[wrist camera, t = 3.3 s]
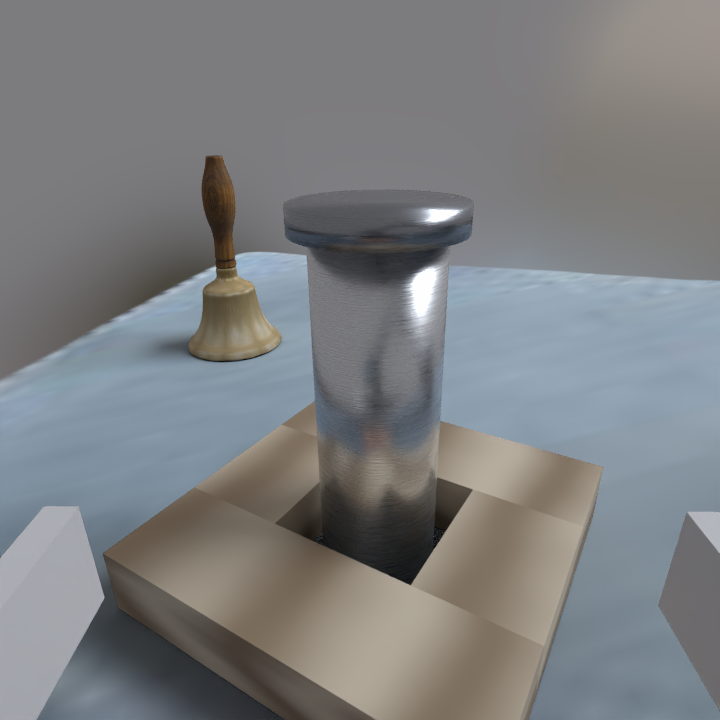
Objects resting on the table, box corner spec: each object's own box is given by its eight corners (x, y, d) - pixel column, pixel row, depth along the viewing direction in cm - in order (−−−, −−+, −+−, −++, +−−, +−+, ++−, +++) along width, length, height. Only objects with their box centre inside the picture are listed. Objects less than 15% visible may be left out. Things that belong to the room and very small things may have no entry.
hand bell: (181, 336, 51) (151, 155, 44) (266, 321, 54) (250, 151, 47) (197, 369, 44) (165, 162, 37) (294, 350, 47) (280, 156, 40)
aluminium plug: (468, 540, 26) (500, 195, 19) (408, 642, 21) (423, 225, 14) (355, 496, 29) (349, 186, 22) (280, 576, 24) (242, 208, 17)
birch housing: (593, 515, 27) (603, 466, 26) (485, 854, 15) (496, 792, 14) (332, 430, 35) (330, 389, 34) (117, 607, 22) (102, 553, 21)
